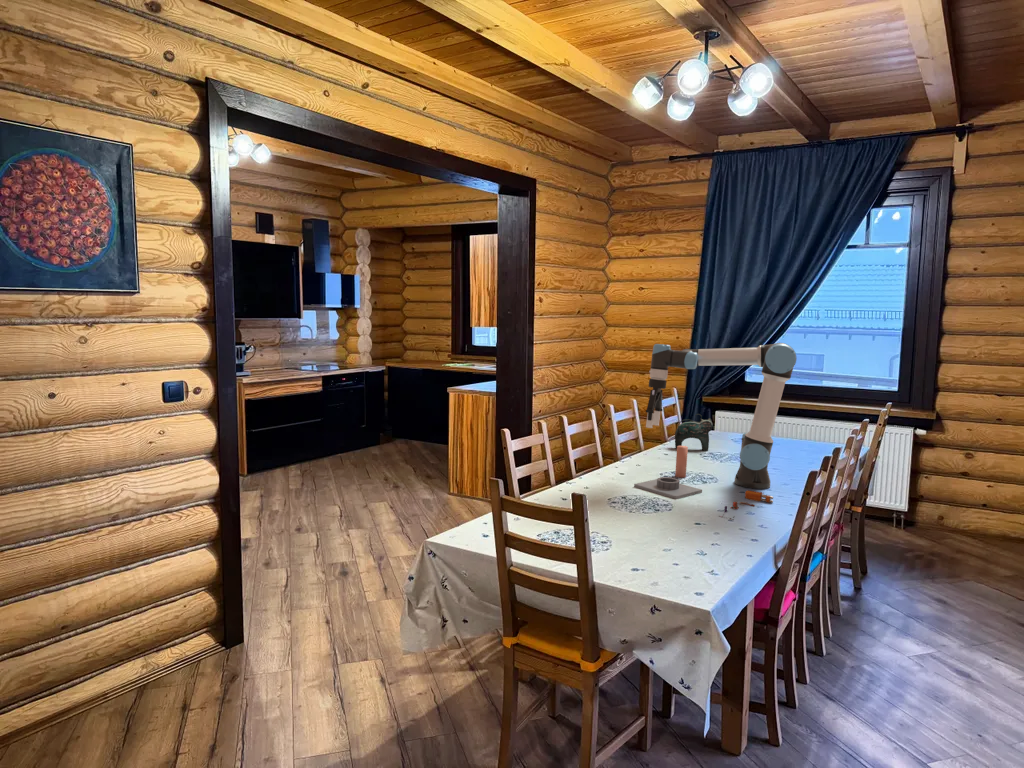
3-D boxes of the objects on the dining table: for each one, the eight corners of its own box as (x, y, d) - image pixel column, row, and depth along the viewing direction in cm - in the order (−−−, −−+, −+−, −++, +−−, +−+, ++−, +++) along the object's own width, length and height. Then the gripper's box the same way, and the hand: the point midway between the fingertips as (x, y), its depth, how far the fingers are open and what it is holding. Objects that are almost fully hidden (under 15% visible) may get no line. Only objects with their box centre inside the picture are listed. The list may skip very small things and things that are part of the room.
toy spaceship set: (773, 503, 275) (774, 493, 275) (746, 524, 247) (747, 513, 246) (746, 498, 281) (747, 488, 281) (716, 518, 253) (717, 507, 253)
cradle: (702, 492, 286) (702, 482, 286) (676, 499, 275) (676, 489, 274) (660, 480, 303) (660, 471, 302) (634, 486, 291) (634, 477, 291)
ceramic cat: (710, 449, 375) (712, 414, 372) (711, 452, 368) (714, 416, 366) (673, 447, 378) (676, 411, 376) (674, 449, 372) (676, 413, 369)
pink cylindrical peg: (687, 476, 312) (689, 447, 310) (681, 478, 309) (683, 448, 307) (679, 474, 316) (681, 445, 314) (673, 475, 313) (675, 446, 311)
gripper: (655, 377, 311) (650, 423, 312) (643, 378, 288) (637, 427, 289) (671, 379, 308) (666, 425, 309) (660, 380, 285) (654, 430, 286)
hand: (652, 426), depth 299 cm, fingers open, 13 cm apart
